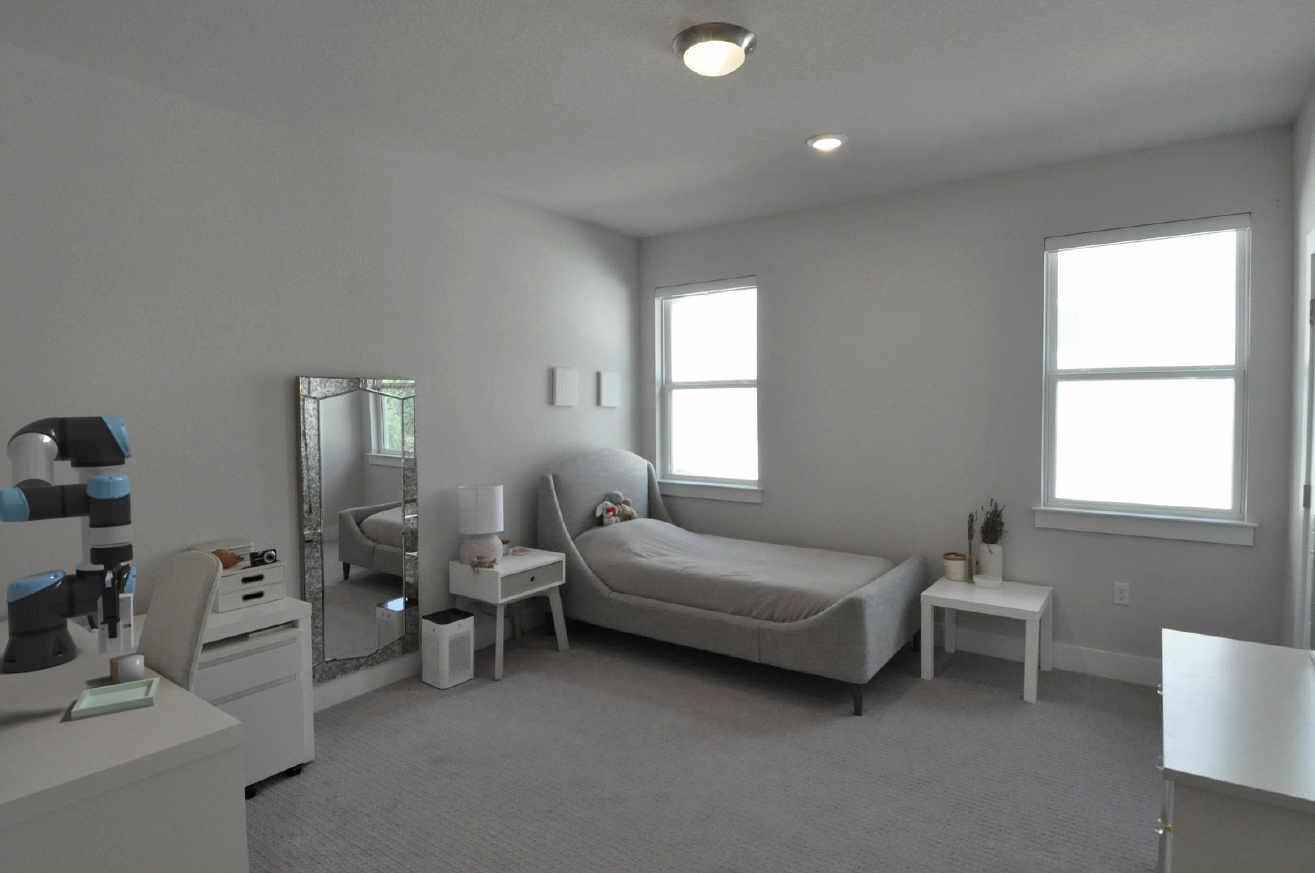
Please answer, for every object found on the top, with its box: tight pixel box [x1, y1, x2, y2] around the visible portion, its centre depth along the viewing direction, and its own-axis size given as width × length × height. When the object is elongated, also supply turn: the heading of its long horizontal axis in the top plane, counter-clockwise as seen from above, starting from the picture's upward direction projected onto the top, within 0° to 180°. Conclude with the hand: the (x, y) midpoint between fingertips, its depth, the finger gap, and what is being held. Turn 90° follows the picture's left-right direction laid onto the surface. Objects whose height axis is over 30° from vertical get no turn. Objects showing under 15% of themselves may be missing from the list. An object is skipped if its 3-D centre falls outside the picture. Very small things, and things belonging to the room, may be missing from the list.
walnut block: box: [109, 652, 137, 684], centre depth 172 cm, size 5×5×5 cm
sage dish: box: [70, 676, 161, 722], centre depth 156 cm, size 14×14×2 cm
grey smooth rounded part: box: [118, 654, 146, 684], centre depth 168 cm, size 5×5×6 cm
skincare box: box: [97, 593, 135, 655], centre depth 156 cm, size 6×4×12 cm
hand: (116, 648), depth 156 cm, fingers closed on skincare box, 4 cm apart
